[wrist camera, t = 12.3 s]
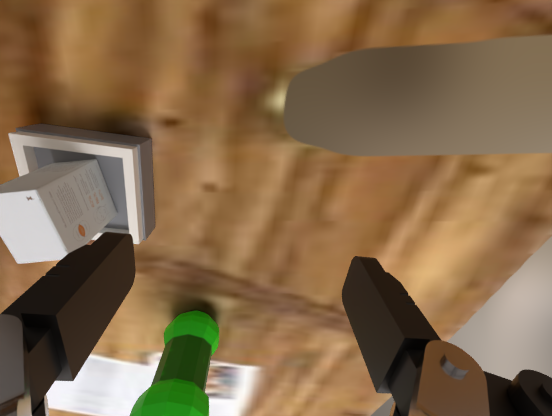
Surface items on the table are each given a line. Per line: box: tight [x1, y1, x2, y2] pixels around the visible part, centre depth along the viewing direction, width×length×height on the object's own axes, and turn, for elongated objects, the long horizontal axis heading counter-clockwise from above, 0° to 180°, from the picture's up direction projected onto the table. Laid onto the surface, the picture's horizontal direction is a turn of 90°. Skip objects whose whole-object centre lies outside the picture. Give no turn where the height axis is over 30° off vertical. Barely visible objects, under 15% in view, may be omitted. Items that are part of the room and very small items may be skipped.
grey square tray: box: [8, 124, 155, 244], centre depth 36 cm, size 14×14×6 cm
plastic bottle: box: [130, 310, 219, 416], centre depth 40 cm, size 10×10×25 cm
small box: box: [0, 159, 117, 264], centre depth 30 cm, size 8×6×10 cm
